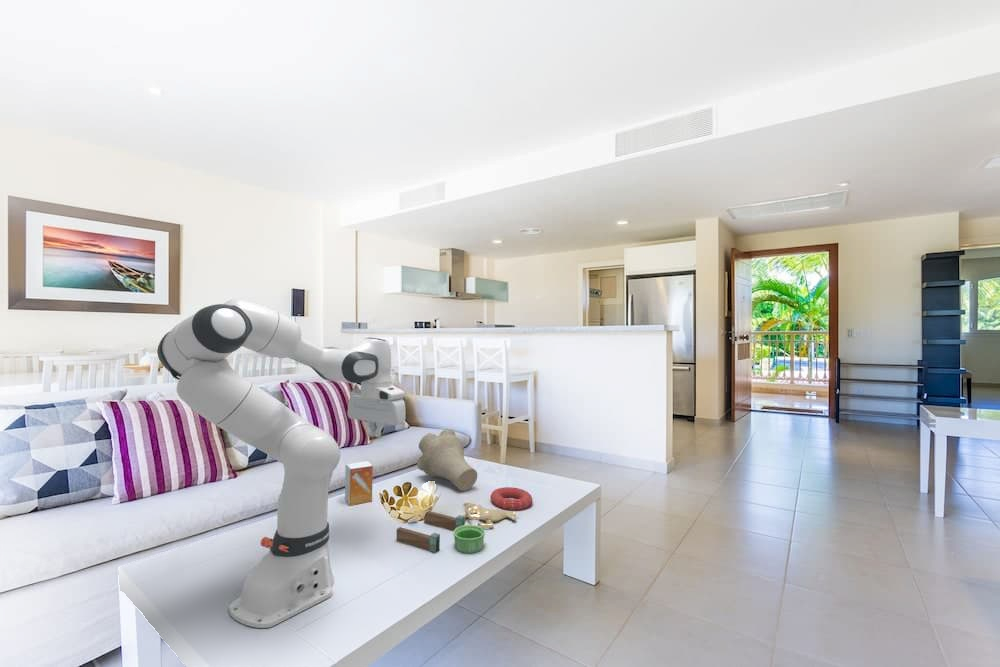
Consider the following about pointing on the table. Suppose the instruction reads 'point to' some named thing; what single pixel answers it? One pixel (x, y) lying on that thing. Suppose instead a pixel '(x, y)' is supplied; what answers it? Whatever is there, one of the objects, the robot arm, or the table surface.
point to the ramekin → (469, 538)
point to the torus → (511, 504)
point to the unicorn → (486, 514)
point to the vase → (446, 459)
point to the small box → (358, 483)
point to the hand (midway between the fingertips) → (375, 436)
